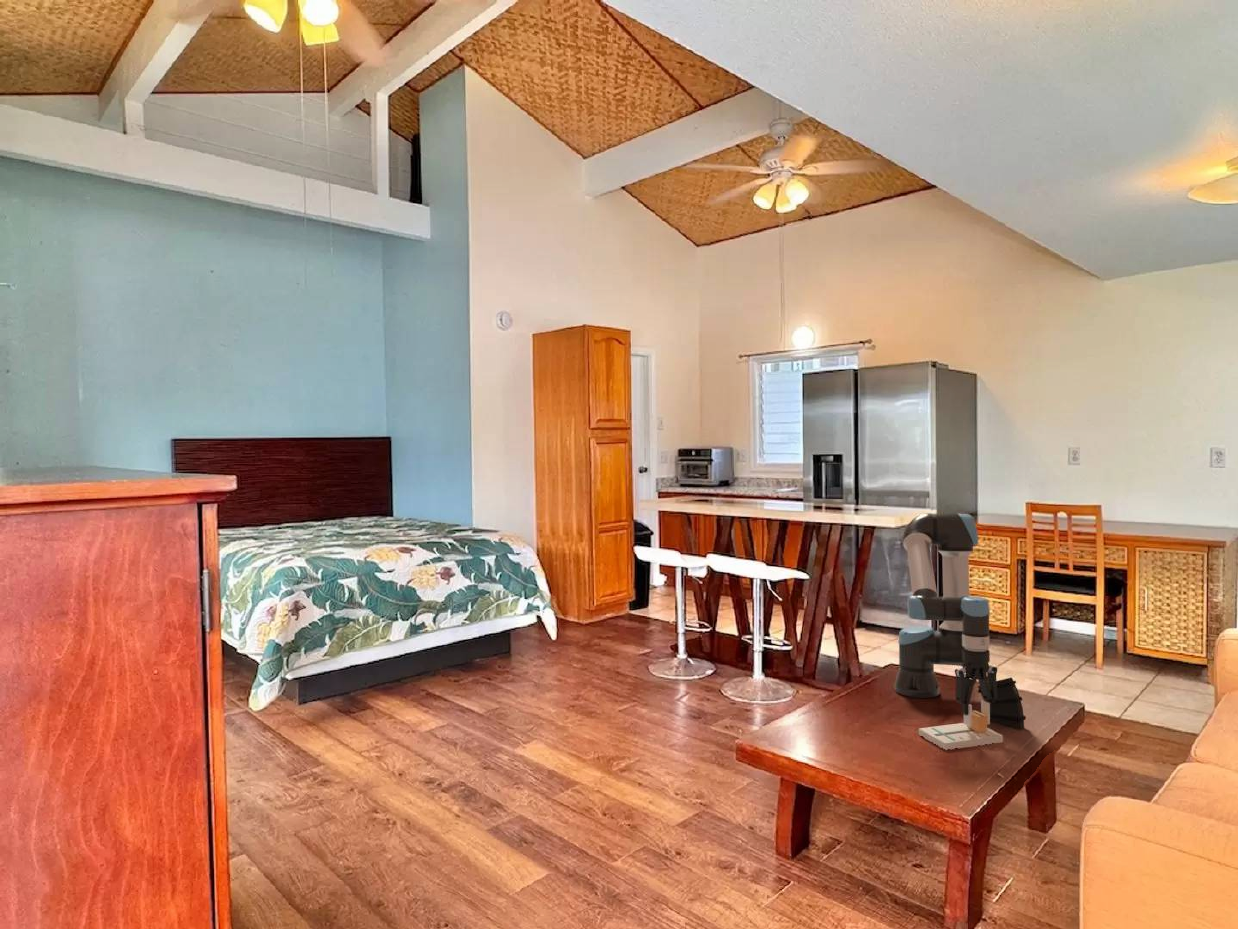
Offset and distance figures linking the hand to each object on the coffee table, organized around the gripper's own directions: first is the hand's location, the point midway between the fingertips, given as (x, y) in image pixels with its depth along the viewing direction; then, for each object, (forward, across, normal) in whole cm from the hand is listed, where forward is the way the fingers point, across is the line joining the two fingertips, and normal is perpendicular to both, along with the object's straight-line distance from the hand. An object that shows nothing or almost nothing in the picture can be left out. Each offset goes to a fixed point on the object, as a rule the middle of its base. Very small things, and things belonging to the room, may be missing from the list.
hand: (976, 723), depth 221 cm
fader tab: (+2, 0, 0) cm, 2 cm away
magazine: (+4, +15, +7) cm, 17 cm away
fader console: (+4, -6, 0) cm, 7 cm away
